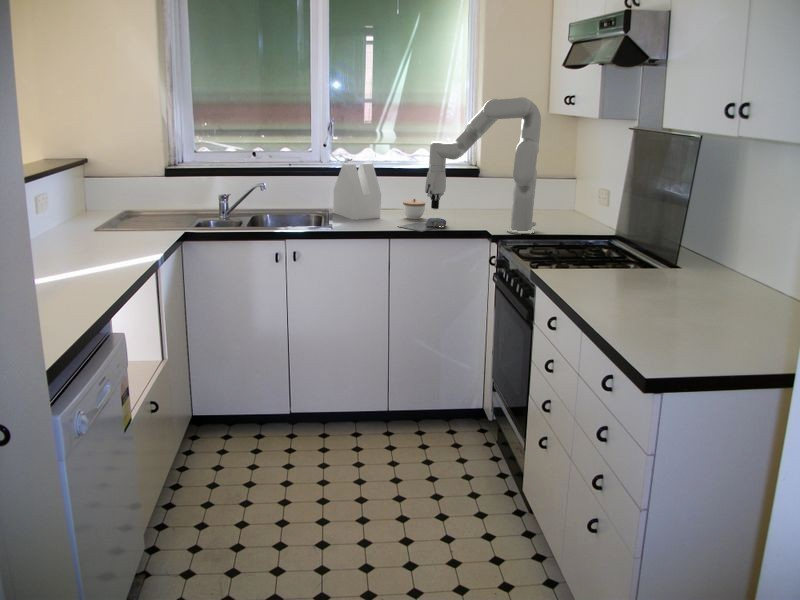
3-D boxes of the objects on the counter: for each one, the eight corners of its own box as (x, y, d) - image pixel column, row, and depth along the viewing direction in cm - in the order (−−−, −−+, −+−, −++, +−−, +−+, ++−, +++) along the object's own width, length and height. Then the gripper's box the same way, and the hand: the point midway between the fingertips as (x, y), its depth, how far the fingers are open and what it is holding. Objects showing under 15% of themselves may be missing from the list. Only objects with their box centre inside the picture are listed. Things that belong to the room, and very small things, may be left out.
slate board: (421, 222, 385) (421, 221, 384) (444, 227, 376) (444, 226, 376) (397, 226, 372) (397, 226, 372) (421, 231, 363) (421, 230, 363)
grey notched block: (333, 212, 400) (334, 161, 393) (360, 211, 408) (361, 160, 402) (352, 219, 385) (353, 166, 378) (380, 217, 393) (382, 165, 386)
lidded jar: (398, 216, 398) (399, 197, 395) (418, 215, 402) (419, 196, 400) (408, 220, 389) (409, 201, 386) (428, 219, 393) (429, 200, 391)
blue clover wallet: (426, 223, 381) (424, 227, 371) (427, 217, 381) (425, 220, 370) (446, 225, 381) (445, 228, 370) (446, 218, 380) (445, 222, 370)
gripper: (440, 167, 382) (438, 205, 387) (420, 169, 371) (418, 209, 376) (453, 168, 377) (451, 208, 382) (433, 170, 366) (431, 211, 371)
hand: (434, 208), depth 379 cm, fingers closed
